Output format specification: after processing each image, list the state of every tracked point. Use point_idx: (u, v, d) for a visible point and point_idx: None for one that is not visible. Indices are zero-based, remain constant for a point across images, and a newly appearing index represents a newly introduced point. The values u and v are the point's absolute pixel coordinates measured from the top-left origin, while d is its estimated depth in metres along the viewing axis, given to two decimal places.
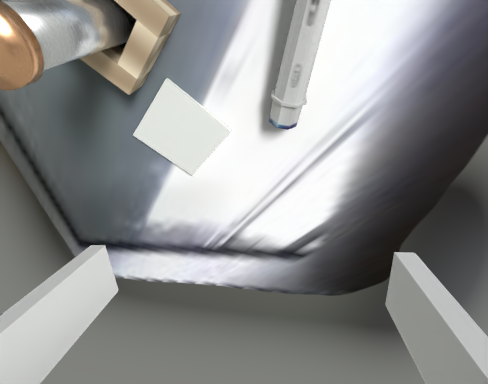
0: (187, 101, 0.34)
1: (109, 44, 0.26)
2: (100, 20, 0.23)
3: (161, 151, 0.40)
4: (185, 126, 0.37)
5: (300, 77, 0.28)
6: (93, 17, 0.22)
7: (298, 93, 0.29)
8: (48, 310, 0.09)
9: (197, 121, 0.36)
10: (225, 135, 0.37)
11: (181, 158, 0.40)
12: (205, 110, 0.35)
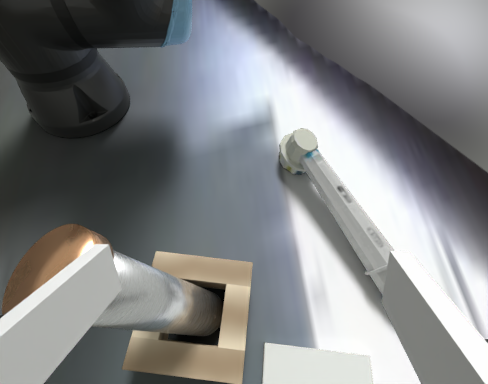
0: (300, 353, 0.26)
1: (194, 308, 0.21)
2: (181, 280, 0.21)
3: None
4: None
5: (379, 235, 0.29)
6: (174, 276, 0.21)
7: (390, 248, 0.28)
8: (53, 308, 0.09)
9: (327, 375, 0.25)
10: (369, 367, 0.25)
11: None
12: (325, 350, 0.26)
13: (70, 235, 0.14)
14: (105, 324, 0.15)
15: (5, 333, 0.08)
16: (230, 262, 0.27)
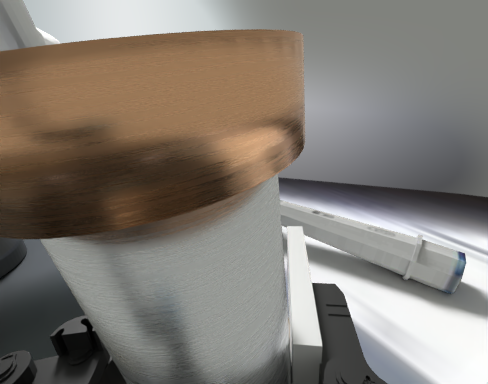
0: None
1: None
2: None
3: None
4: None
5: (383, 229, 0.26)
6: None
7: (402, 234, 0.25)
8: None
9: None
10: None
11: None
12: None
13: None
14: (259, 301, 0.04)
15: None
16: None
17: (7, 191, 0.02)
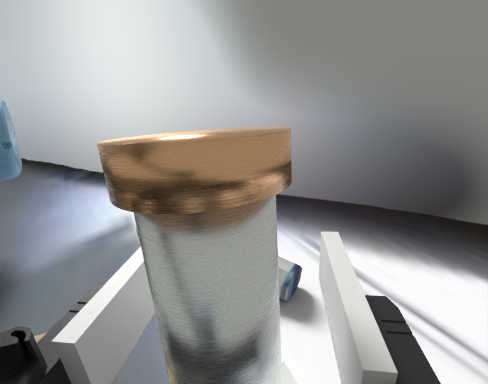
0: None
1: None
2: None
3: None
4: None
5: None
6: None
7: None
8: (138, 283, 0.10)
9: None
10: (289, 376, 0.18)
11: None
12: None
13: None
14: (261, 276, 0.07)
15: (110, 301, 0.09)
16: None
17: (164, 191, 0.05)
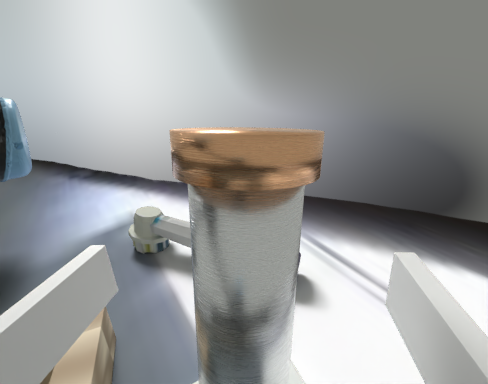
0: None
1: None
2: None
3: None
4: None
5: None
6: None
7: None
8: (48, 310, 0.09)
9: None
10: None
11: None
12: None
13: None
14: (289, 250, 0.09)
15: None
16: None
17: (231, 171, 0.07)
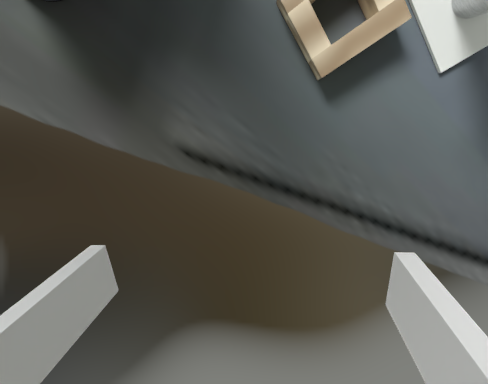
0: None
1: None
2: None
3: (482, 43, 0.29)
4: None
5: None
6: None
7: None
8: (48, 310, 0.09)
9: None
10: None
11: None
12: None
13: None
14: None
15: None
16: None
17: None
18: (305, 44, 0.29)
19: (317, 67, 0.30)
